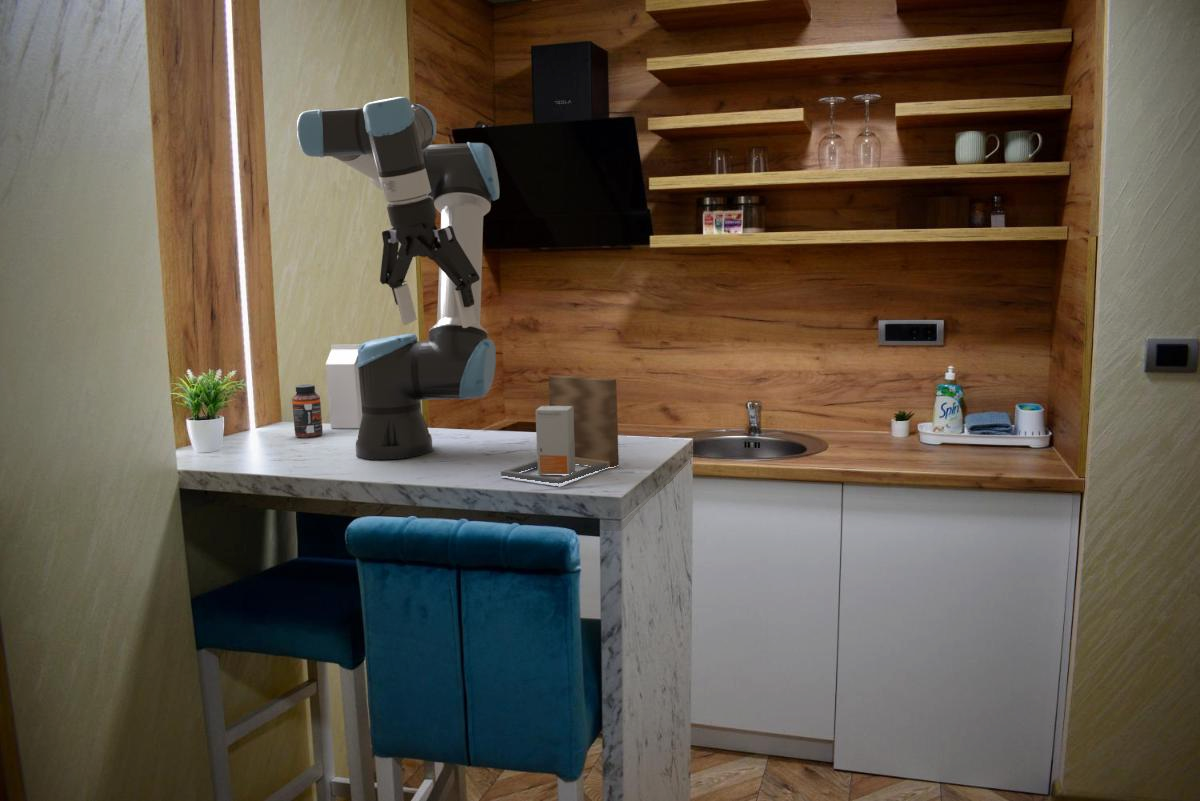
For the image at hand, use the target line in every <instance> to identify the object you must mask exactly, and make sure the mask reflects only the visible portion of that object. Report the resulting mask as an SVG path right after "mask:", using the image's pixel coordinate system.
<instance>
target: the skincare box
mask: <svg viewBox="0 0 1200 801" xmlns="http://www.w3.org/2000/svg"><path fill="white" fill-rule="evenodd" d="M535 430H536V431H535V432H536V434H535V435H536V460H537V464H538V468H537V475H538V474H571V473H572V472H573V471H574V470H575V471H576V465H575V444H574V407H573V406H550V405H541V406H539V407H538V408H537V409H535ZM575 471H574V472H575ZM574 472H573V473H574Z"/></svg>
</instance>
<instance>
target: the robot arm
mask: <svg viewBox="0 0 1200 801" xmlns="http://www.w3.org/2000/svg"><path fill="white" fill-rule="evenodd" d="M298 116H299V117H298V118H297V123H296V135H297V140H298V144H299V146H300V148H301V149H300V150H301V151H302V152H303V153H304V154H305V155H306V156H308V157H316V158H319V157H320V158H324V157H333V158H334V159H337V160H338V161H340V162H341V163H344V164H345V165H347V166H349V167H351V168H352V169H354V170H356V171H358V172H359V173H361V174H363V175H365V176H367V177H368V178H369V180H370V181H371V183H372V184H373V185H374V186H376V188H378V189H379V190H381V191H382V194H383V197H384V200H385V201H386V202H387V203H388V204H387V206H386V211H387V215H388V218H389V223H390V225H391V228H388V229H386V230H383V231H382V232H381V235H382V236H381V237H382V243H383V248H382V256H381V257H382V258H381V266H380V275H379V276H380V277H379V282H380V283H381V284H382V285H388V287H389V288H391V291H392V295H393V299H394V302H395V304H396V305H397V306H398V307H397V308H398V312H399V314H400V318H401V321H402V322H401V323H402V325H403V326H407V325H409V324H411V323H413V322H415V321H418V319H417V316H416V315H417V314H416V312H415V306H414V303H413V299H412V295H411V292H410V287H409V284H408V283H406V282H407V280H405V279H406V276H407V274H408V272H409V269H410V266H411V263H412V261H413V259H414V258H416V257H422V258H426V257H427V258H428V259H429V260H432V261H433V262H435V264H436V265H437V267H438V286H437V287H438V289H437V291H438V292H437V315H436V316H437V318H436V323H435V324H434V325H433V326H432V327H431V328H429V331H428V340H420V341H418V337H417V335H416V334H415V333H404V334H399V335H393V336H387V337H381V338H377V339H376V338H375V339H372V340H368V341H366V342H362V344H360V347H359V349H358V366H357V367H358V371H359V382H360V394H361V405H362V420H361V424H360V428H358V433H357V434H358V435H357V439H356V440H355V455H356V456H357V457H359V458H362V459H365V458H366V460H377V459H382V460H383V459H384V460H385V459H386V460H398V459H405V458H406V459H408V458H412V457H417V456H421V455H425V454H427V453H430V452H431V451H433V449H434V448H433V437H432V435H431V434H430V432H429V429H428V425H427V422H426V420H425V418H424V414H423V412H422V402H421V401H424V400H426V401H427V400H428V401H430V400H462V401H466V400H468V399H481V398H483V397H485V396H486V395H488V393H489V391H490V389H491V387H492V385H493V381H494V377H495V373H496V365H497V364H496V362H497V361H496V360H497V359H496V355H497V354H496V352H497V351H496V345H495V342H494V340H492V339H490V338H488V331H487V330H486V329H485V328H484V327H483V326H482V325H481V304H482V276H483V274H482V272H483V271H482V269H483V268H482V267H483V266H482V265H483V239H484V238H483V235H484V234H483V232H484V229H483V228H484V216H486V215H487V214H488V213H490V211H491V207H492V201H496V200H498V199H499V198H500V182H499V176H498V171H497V166H496V160H495V158H494V154H493V151H492V149H491V147H490V146H489V145H488V144H487V143H484V142H469V141H467V142H466V143H465V142H463V143H444V144H441V143H440V144H439V143H438V144H431V143H432V141H433V140H434V139H435V137H436V135H437V130H438V128H437V125H438V124H437V121H436V118H435V116H434V115H433V113H432V112H431V111H430V109H428V108H427V107H426V106H424V105H422V104H419V103H413V102H412V103H411V101H410V99H409V98H408V97H406V96H396V97H391V98H384V99H380V100H375V101H370V102H368V103H366V104H365V105H364V106H363V107H356V108H334V109H333V108H329V109H328V108H327V109H322V108H319V109H313V110H312V109H311V110H306V111H302V112H301V113H300V114H299V115H298ZM437 212H438V213H440V228H438V227H437V225H436V219H437V217H438V214H437ZM382 460H381V461H382ZM384 460H383V461H384Z"/></svg>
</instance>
